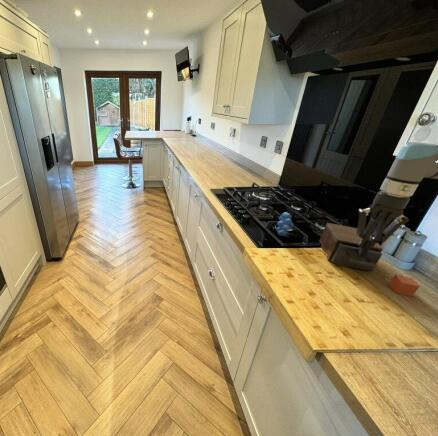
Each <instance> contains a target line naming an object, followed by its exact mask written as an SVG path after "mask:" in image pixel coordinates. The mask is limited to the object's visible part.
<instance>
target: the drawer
mask: <svg viewBox="0 0 438 436" xmlns="http://www.w3.org/2000/svg"><path fill="white" fill-rule="evenodd" d="M358 249H359V246H355V245H351V244H346V243H341V242H340V243H339V245H338V247H337V249H336V251H335V253H334V255H333V257H332V260H331V261H332V262H331V261H330V262H331V263H333V264H338V265H341V266H347V267H349V268H350V267H351V268H355V269H360V270H364V271H368V272H373V271H374V269H375V268H376V266H377V264H378V263H379V261H380V259H381V258H382V256H383V253H382V252H378V251H376V250H375V249H369V250H368V252H367V254H366V255H365V257H364V258H363V257H359V256H358V254H357V251H358Z"/></svg>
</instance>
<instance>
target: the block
mask: <svg viewBox="0 0 438 436" xmlns="http://www.w3.org/2000/svg"><path fill="white" fill-rule="evenodd" d="M388 285H389V287H390V288H391V290H392V291H393V292H394V293H395V294H399V295H403V296H407V297H409V298H410V297H411V298H413V296H414V295H415V294H416V293H417V291H418V290H419V288H420V287H421V286H420V285H419V284H418V282H416V280H415V279H414V278H412V277H409V276H406V275H405V276H404V275H400V274H394V275H393V277H392V278H391V280H390V282H389V283H388Z"/></svg>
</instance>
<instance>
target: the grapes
mask: <svg viewBox="0 0 438 436" xmlns="http://www.w3.org/2000/svg"><path fill="white" fill-rule="evenodd" d="M292 218H293V217H292V215H291V213H288V212H287V211H285V212H283V213H282V214H281V215H280V216H279V217H278V219H279V221H277V222H276V225H277V226H278V227H276V229H275V230H276V231H277V235H278V236H279V237H283V236H286V235H288V233H289V232H288V231H290V230H291V229H292V228H293V227H295V225H294V223H293V221H292Z"/></svg>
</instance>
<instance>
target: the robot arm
mask: <svg viewBox="0 0 438 436" xmlns="http://www.w3.org/2000/svg"><path fill="white" fill-rule="evenodd" d="M436 144H437V143H435V144H434V143H427V142H420V141H419V142H418V141H409V142H405V143H404V144H403V146H401V148H400V149H399V152H397V155H396V156H395V159H394V161H393V162H392V165H391V166H390V169H389V170H388V172H387V175H386V176H385V178H384V179H383V182H382V184H381V186H380V188H379V191H378V192H377V194H376V195H375V197H374V199H373V201H372V204H370V205H369V206H368V207H367V208H363V209H362V208H358V210H357V212H358V215H359V216H358V221H357V227H356V228H357V232H356V234H357V235H358V236H359V237H360V238H361V239H360V241H359V243H358V246H359V249H358V251H357V254H358V256H359V257H363V258H364V257H365V255H366V254H367V252H368V250H369V249H373V247H374V245H375V244H376V243H378V244H379V242H382V243H385V242H386V241H387V240H388V239H389V238H390V237H391V236H392V235H394V233H395V232H396V231H397V230H399V229H400V228H401V227H402V225H405V224H406V223H408V222H409V221H410V219H409V218H408V217H406V216H405V215H404V209H406V207H407V205H408V203H409V202H410V200H411V198H410V197H413V195H414V194H415V192H416V190H417V188H418V186H419V185H420V183H421V182H422V181H423V179H424V178H425V179H435V180H438V163H436V162H435V161H437V160H438V145H436ZM369 214H370V218H369V221H368V223H367V216H369ZM391 221H392V222H391ZM366 224H367V225H366ZM370 236H371V239H370Z"/></svg>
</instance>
